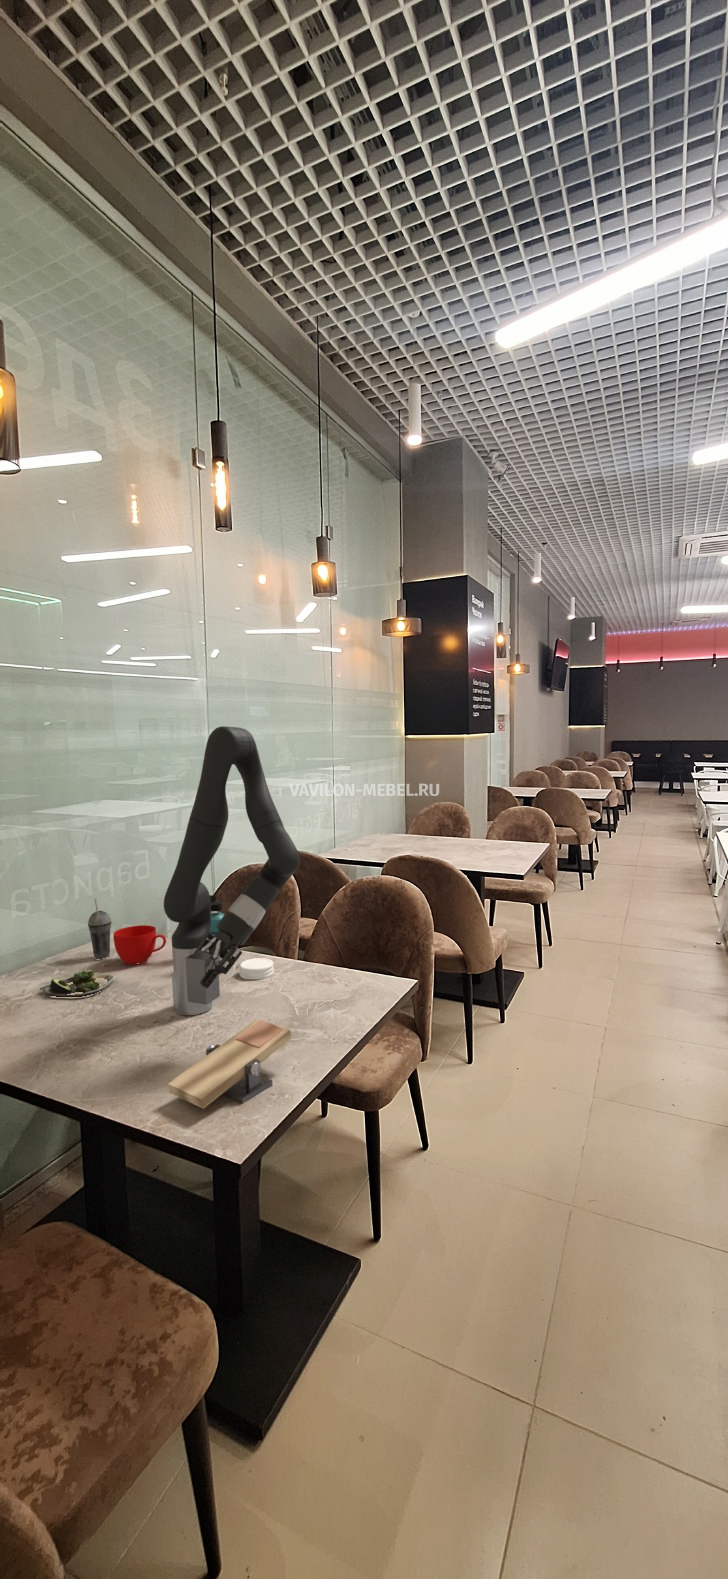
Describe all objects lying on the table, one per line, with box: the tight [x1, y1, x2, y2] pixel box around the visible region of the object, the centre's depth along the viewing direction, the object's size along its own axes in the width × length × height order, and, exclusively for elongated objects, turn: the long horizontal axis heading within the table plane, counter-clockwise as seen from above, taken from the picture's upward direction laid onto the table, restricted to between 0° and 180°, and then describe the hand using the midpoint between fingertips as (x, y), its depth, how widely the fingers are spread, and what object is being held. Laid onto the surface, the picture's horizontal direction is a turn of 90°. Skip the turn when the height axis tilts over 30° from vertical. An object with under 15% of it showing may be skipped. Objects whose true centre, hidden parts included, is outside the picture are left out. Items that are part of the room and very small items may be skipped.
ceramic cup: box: [112, 924, 167, 965], centre depth 213 cm, size 13×17×10 cm
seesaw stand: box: [205, 1044, 273, 1104], centre depth 135 cm, size 14×8×6 cm, turn 53°
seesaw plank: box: [167, 1018, 292, 1110], centre depth 134 cm, size 10×24×2 cm, turn 143°
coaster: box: [239, 957, 275, 981], centre depth 198 cm, size 10×10×4 cm
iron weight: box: [186, 951, 221, 1005], centre depth 148 cm, size 5×5×10 cm
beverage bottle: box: [210, 901, 225, 964], centre depth 205 cm, size 6×7×20 cm
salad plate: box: [38, 969, 115, 997], centre depth 193 cm, size 19×18×5 cm
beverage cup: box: [87, 898, 112, 959], centre depth 217 cm, size 7×7×20 cm
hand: (196, 981), depth 147 cm, fingers closed on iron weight, 7 cm apart
